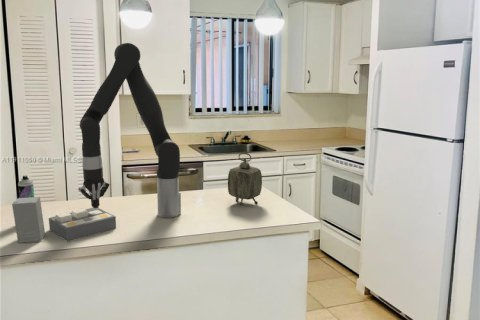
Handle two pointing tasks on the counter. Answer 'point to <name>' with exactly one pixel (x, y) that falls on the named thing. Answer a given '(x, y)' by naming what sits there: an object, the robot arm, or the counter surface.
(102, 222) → the button panel
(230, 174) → the tabletop clock
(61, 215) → the button
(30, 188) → the spray can
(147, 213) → the counter surface
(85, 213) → the middle button
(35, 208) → the skincare box
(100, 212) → the button
